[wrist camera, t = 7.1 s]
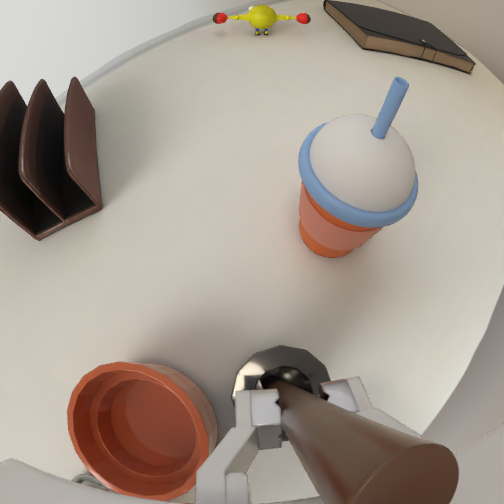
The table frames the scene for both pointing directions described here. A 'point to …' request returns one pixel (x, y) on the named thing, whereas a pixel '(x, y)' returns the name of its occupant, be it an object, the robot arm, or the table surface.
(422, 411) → the table surface
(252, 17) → the toy figure
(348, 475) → the stick
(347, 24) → the black book
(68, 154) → the letter holder
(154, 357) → the table surface
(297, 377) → the tube
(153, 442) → the bowl
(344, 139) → the cup with straw
